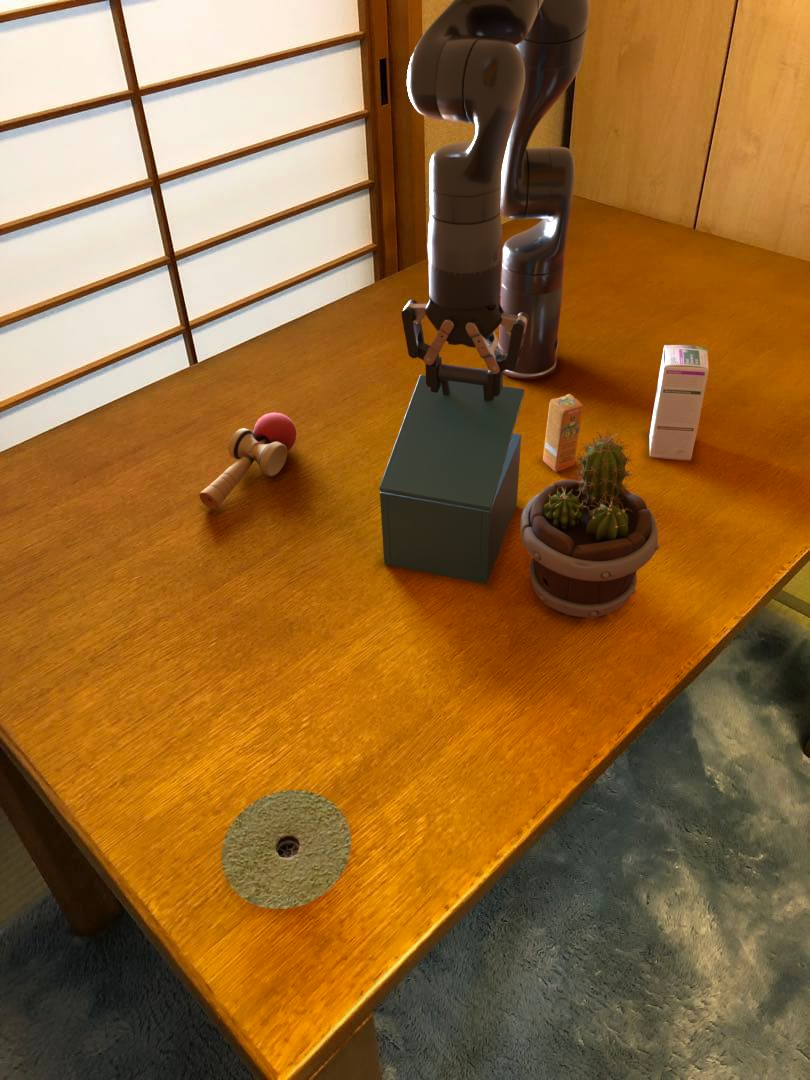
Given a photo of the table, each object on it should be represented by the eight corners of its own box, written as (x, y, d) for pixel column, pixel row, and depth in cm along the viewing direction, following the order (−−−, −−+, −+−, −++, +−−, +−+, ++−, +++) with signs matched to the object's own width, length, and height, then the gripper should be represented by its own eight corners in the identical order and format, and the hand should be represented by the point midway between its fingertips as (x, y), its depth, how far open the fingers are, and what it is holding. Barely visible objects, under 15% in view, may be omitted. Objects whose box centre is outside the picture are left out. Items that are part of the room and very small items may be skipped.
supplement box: (556, 474, 119) (562, 410, 112) (542, 461, 121) (547, 398, 115) (576, 466, 120) (584, 403, 113) (562, 454, 122) (568, 391, 116)
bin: (422, 488, 117) (421, 419, 110) (516, 504, 114) (521, 434, 107) (384, 564, 106) (379, 493, 99) (487, 585, 103) (490, 512, 96)
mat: (284, 947, 71) (281, 936, 70) (198, 863, 77) (194, 851, 76) (379, 851, 77) (378, 839, 76) (292, 779, 83) (290, 767, 82)
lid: (420, 378, 107) (415, 348, 102) (524, 393, 103) (523, 362, 99) (379, 491, 99) (372, 464, 94) (490, 511, 96) (487, 483, 91)
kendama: (241, 526, 114) (315, 441, 124) (222, 490, 110) (300, 404, 120) (199, 517, 118) (273, 435, 128) (179, 481, 114) (258, 399, 124)
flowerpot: (619, 656, 94) (647, 510, 81) (492, 605, 100) (498, 462, 87) (665, 575, 103) (697, 433, 90) (546, 533, 109) (560, 395, 96)
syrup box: (691, 461, 120) (712, 367, 110) (647, 457, 121) (664, 364, 111) (690, 438, 124) (709, 345, 115) (647, 434, 125) (663, 342, 116)
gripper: (541, 245, 91) (531, 384, 102) (409, 232, 95) (414, 368, 106) (525, 277, 86) (517, 420, 97) (387, 262, 90) (394, 401, 101)
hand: (463, 392), depth 102 cm, fingers closed on lid, 6 cm apart
